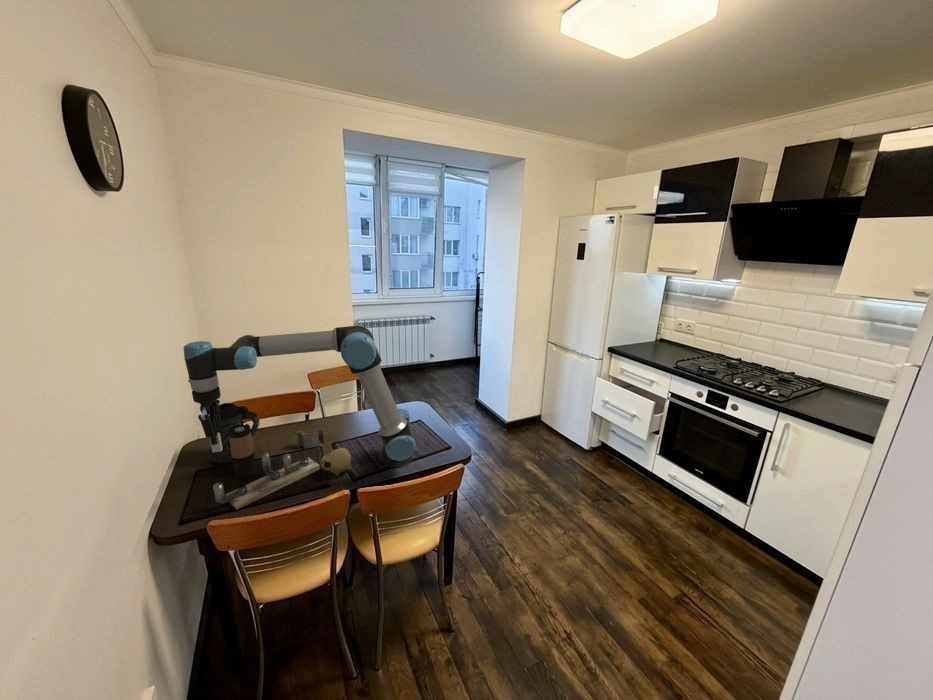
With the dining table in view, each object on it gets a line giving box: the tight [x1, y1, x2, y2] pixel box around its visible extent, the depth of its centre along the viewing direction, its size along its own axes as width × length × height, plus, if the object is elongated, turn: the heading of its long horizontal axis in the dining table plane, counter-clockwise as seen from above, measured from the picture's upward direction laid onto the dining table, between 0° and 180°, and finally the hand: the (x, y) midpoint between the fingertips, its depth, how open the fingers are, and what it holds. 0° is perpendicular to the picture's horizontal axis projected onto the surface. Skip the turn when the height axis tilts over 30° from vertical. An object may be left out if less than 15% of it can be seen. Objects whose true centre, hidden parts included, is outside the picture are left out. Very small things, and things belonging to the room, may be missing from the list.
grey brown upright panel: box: [296, 428, 326, 451], centre depth 168 cm, size 11×3×10 cm, turn 114°
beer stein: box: [207, 402, 260, 469], centre depth 156 cm, size 16×19×25 cm
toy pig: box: [319, 447, 352, 476], centre depth 150 cm, size 10×12×11 cm
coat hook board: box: [225, 456, 321, 511], centre depth 143 cm, size 9×32×3 cm, turn 142°
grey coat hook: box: [282, 453, 309, 472], centre depth 148 cm, size 10×3×8 cm, turn 145°
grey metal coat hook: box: [212, 482, 248, 505], centre depth 129 cm, size 10×3×8 cm, turn 144°
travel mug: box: [228, 423, 257, 478], centre depth 146 cm, size 8×8×20 cm
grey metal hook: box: [260, 451, 280, 480], centre depth 143 cm, size 10×3×8 cm, turn 52°
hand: (217, 450), depth 126 cm, fingers closed
